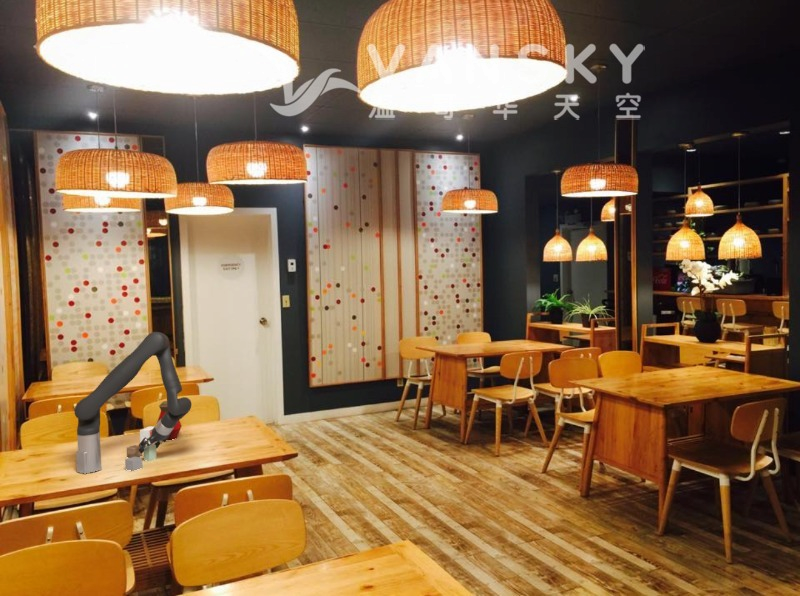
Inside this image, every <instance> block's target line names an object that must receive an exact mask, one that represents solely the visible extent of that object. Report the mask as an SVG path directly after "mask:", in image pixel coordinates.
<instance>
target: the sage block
mask: <svg viewBox="0 0 800 596" xmlns="http://www.w3.org/2000/svg"><path fill="white" fill-rule="evenodd" d="M146 446H147V445H146ZM142 454H143V461H144V460H147V461H146V462H149V461H150V462H152V460H153V461H155V460H154V459H156V460H157V448H156V445H151V446H150V447H149V446H148V447H147V448H146V449H145V450H144V452H143V453H142Z"/></svg>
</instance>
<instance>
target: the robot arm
mask: <svg viewBox="0 0 800 596" xmlns="http://www.w3.org/2000/svg"><path fill="white" fill-rule="evenodd" d="M170 345H171V344H170V338H169V337H168V335H166V334H164V333H162V332H159V331H153V332H150V333H149V334H148V335H146V337H145V338H144V339H143V340H142V341H141V342H140V344H138V346H137V347H136V348H135V349H134V350H133V351H132V352H131V353H129V355H127V356H126V357H125V358H124V359H123V360H121V362H119V363H118V364H117V365H116V366H115V367H114V368H113V369H111V371H110V372H109V373H108V374H107V375H106V376H105V377H104V378H103V380H102V381H101V382H100V383H99V384H98V386H97V387H96V388H95V389H94V390H92V391H91V392H90V393H89V394H87V396H86V397H83V398H82V399H80V401H78V402H77V403H76V405H75V407H74V416H75V417H76V419H77V428H76V433H77V434H76V435H77V451H76V452H75V457H76V458H75V459H76V473H78V472H80V474H83V473H84V475H87V474H91V473H90V472H93V473H96V472H95V471H97V472H99V471H101V470H102V450H101V449H102V448H101V434H100V433H101V431H100V430H101V429H100V427H101V408H102V407H103V406H104V405H105V404H106V403H107V401H109V400H110V399H111V398H113V397H114V396H115V395H116V394H118V393H119V392H120V391H122V390H123V389H124V388H125V387H126V386H127V385H128V384H129V383H130V382H132V380H134V379H135V378H136V376H137V375H138V374H139V372H140V370H141V369H142V367H143V366H144V365H145V363H146V362H147V361H148V360H149V359H151V358H152V356H154V355H155V357H156V359H157V361H158V364H159V368H160V376H161V377H160V378H161V381H162V384H163V387H164V390H165V392H166V401H167V407H168V410H169V411H167V412H166V413H165V414H164V416H163V417H162V418H161V419H160V420H159V421H158V420H157V421H158V423H157V422H156V424H155V425H154V426H155V427H154V428H153V430H152V434H151V436H150V437H149V438H146V437H145V438H144V439H143V440H142V441H141V443H139V444H138V446H139V447H140V449H139V452H140V453H142V454H144V453H143V452H144V450H145V449H146V448H147V447H148V446H149V447H150V446H151V445H153V444H154V443H155V444H154V445H156V449H158V448H159V447H160V445H162V444H163V443H167V441H166V440H167V439H168V438H169V436H170V433H171V431H172V430H173V428H174V426H175V425H176V424H177V422H178V421H180V420H181V419H183V417H186V415H187V414H189V412H190V410H191V409H192V401H191V399H190V398H189V397H183V396H182V397H180V398H178V394H180V393H181V392H183V388H182V387H183V386H182V384H181V381H180V378H179V375H178V372H177V370H176V367H175V363H174V360H173V355H172V352H171V351H172V350H171V346H170ZM148 442H150V443H151V444H149V443H148ZM146 444H147V446H146ZM100 469H101V470H100ZM98 470H99V471H98ZM86 473H87V474H86Z"/></svg>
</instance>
